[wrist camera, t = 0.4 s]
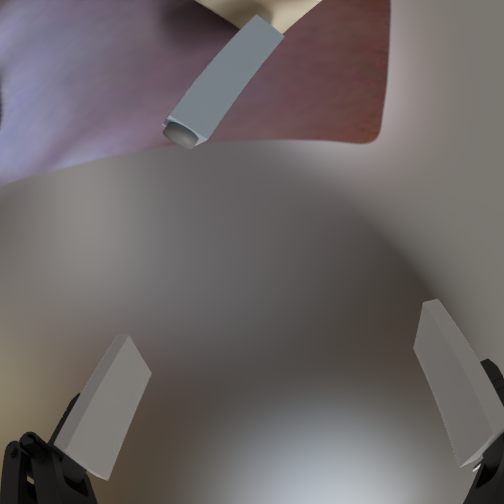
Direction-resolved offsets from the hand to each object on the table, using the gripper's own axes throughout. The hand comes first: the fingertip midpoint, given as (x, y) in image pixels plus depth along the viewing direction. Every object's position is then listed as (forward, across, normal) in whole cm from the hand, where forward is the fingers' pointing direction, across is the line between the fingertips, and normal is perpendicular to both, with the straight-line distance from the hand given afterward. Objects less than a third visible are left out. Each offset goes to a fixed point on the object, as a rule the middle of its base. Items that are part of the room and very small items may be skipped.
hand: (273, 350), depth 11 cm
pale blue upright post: (+23, +2, +20) cm, 31 cm away
